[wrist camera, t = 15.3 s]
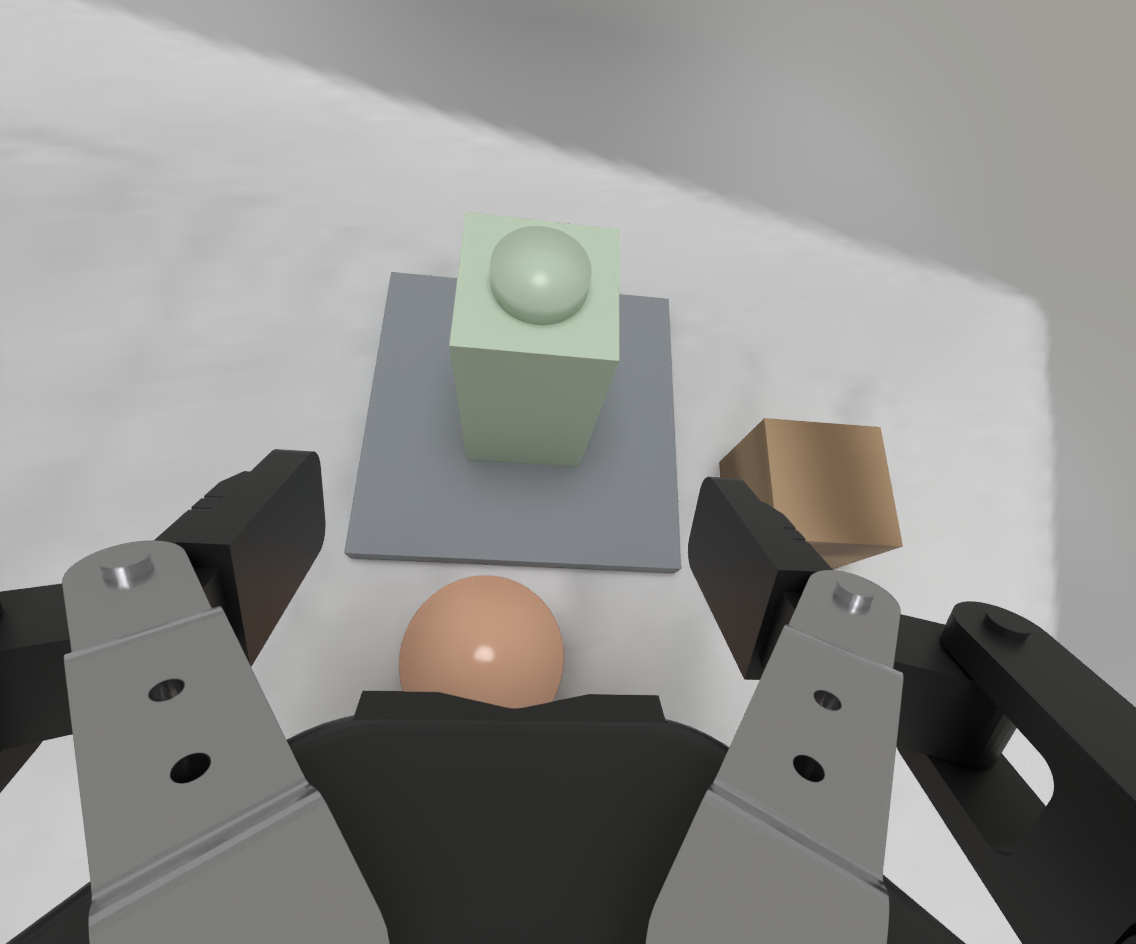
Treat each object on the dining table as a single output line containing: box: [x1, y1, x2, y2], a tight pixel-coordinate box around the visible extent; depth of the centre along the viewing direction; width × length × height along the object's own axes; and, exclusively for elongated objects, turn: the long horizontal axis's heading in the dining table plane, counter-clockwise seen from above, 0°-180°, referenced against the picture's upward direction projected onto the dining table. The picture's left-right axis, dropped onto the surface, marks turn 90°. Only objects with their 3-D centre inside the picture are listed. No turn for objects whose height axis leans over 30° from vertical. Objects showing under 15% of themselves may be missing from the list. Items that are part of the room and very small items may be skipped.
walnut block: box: [719, 418, 903, 569], centre depth 24 cm, size 5×5×5 cm
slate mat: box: [344, 272, 681, 573], centre depth 26 cm, size 14×14×1 cm
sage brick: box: [449, 212, 619, 467], centre depth 21 cm, size 5×5×10 cm
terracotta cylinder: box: [399, 576, 564, 708], centre depth 20 cm, size 5×5×6 cm
